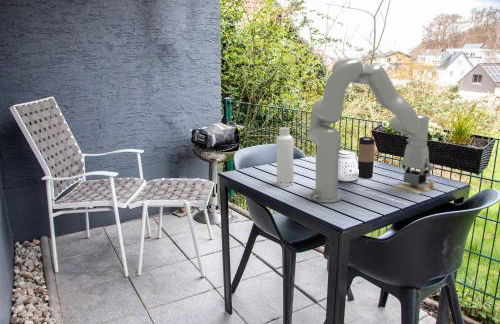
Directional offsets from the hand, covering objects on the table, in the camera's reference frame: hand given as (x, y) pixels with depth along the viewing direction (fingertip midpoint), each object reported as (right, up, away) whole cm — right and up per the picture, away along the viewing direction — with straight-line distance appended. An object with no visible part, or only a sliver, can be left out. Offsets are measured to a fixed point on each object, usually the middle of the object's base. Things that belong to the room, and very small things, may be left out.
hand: (414, 180), depth 175 cm
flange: (+3, 0, +2) cm, 3 cm away
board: (-1, -4, 0) cm, 4 cm away
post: (0, -3, +1) cm, 3 cm away
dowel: (+6, -3, -3) cm, 8 cm away
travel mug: (-16, +1, +22) cm, 27 cm away
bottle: (-58, -3, +14) cm, 60 cm away
